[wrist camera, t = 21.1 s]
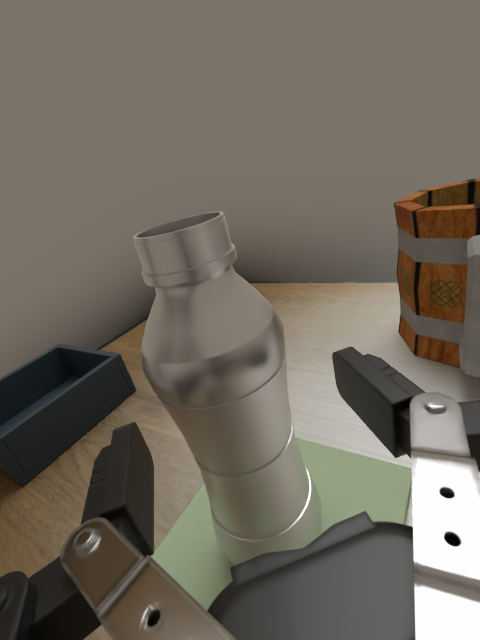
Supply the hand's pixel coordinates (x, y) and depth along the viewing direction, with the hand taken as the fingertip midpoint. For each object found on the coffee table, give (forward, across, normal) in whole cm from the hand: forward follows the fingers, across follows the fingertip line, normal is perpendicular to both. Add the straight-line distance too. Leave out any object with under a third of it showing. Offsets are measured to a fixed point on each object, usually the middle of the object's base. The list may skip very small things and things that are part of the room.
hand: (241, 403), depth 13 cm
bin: (+27, +21, +14) cm, 36 cm away
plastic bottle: (+3, 0, +14) cm, 14 cm away
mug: (+14, -25, +14) cm, 32 cm away
